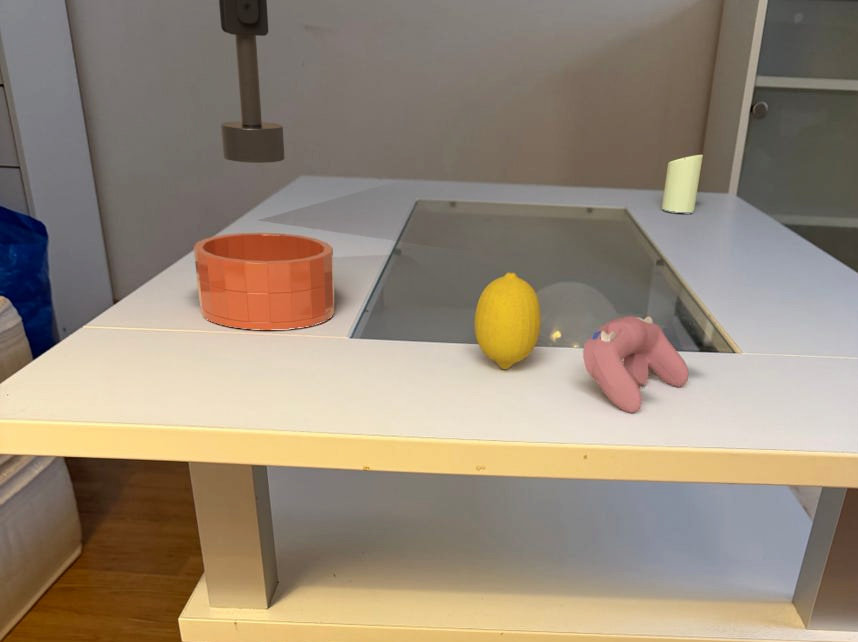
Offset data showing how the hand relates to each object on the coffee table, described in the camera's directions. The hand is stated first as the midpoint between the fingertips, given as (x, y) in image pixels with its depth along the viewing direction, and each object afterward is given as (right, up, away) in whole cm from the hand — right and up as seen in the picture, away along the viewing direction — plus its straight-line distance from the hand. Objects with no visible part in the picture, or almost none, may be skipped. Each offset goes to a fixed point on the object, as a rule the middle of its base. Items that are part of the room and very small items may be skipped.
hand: (244, 32), depth 78 cm
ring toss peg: (0, -8, +5) cm, 9 cm away
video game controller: (+31, -28, +4) cm, 42 cm away
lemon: (+21, -25, +7) cm, 33 cm away
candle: (+49, +19, +76) cm, 92 cm away
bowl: (-2, -16, +17) cm, 24 cm away
